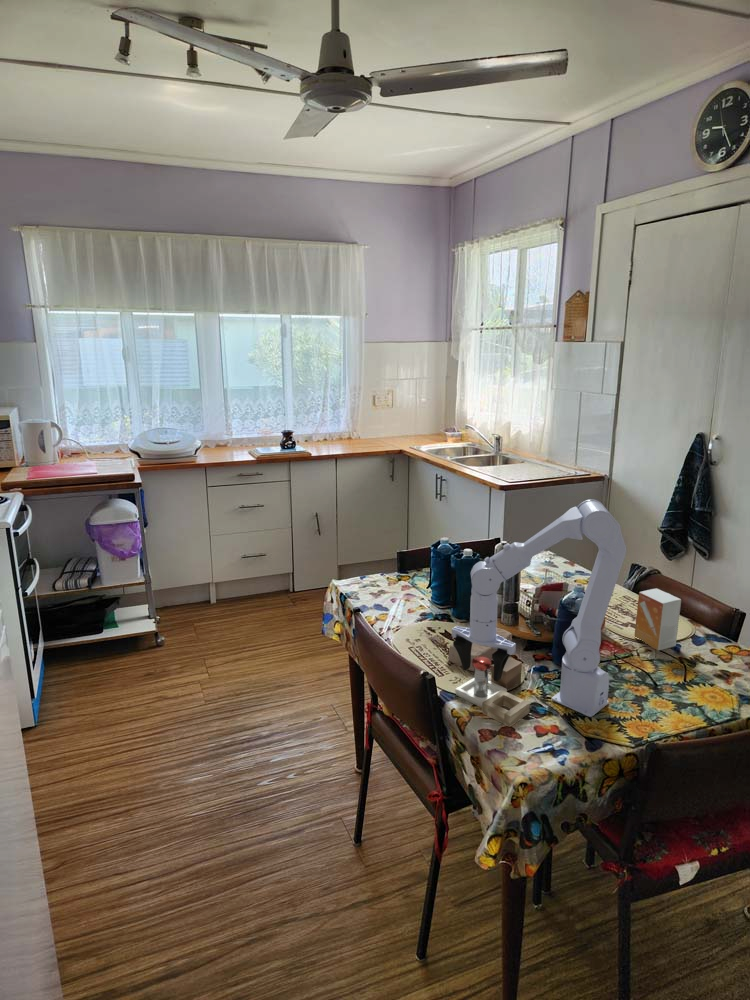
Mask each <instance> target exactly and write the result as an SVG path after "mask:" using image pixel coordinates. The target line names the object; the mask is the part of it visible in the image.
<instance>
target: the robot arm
mask: <svg viewBox="0 0 750 1000" xmlns="http://www.w3.org/2000/svg"><path fill="white" fill-rule="evenodd" d="M609 511H610V510H608V509H607V508H606V506H604V504H603V503H602V502H601V501H599V500H597V499H586V500H584V501H581V502H580V503H579V504H578V505H577V506H574V507H571V508H569V509H568V510H566V512H564V514H562V515H561V516H560V517H558V518H556V519H555V520H554V521H553V522H551V523H550V524H548V525H547V526H546V527H544V528H542V529H541V530H540V531H538V532H537V533H535V534H534V535H533V536H532V537H530V538H529V539H527V540H526V541H525V542H518V541H517V542H516V541H514V542H512V543H511V544H510V543H508V542H507V543H505V544H504V545H503V549H501V550H499V551H498V552H497V553H495V554H493V555H492V556H490V557H489V556H486V557H485V558H484V561H483V560H480V561H478V562H476V563H475V564H474V565H473V566H472V568H471V571H470V580H471V581H470V582H471V591H470V592H471V595H470V602H469V603H470V606H469V607H470V610H469V613H470V615H469V616H470V617H469V627H466V626H459V625H455V626H454V627H452V628H451V637H453V638H455V640H454V641H453V642H452V644H453V646H454V647H455V648H456V650H457V652H458V654H459V657H460V660H461V663H462V666H461V667H462V671H463V672H466V671H468V669H469V668H470V664H471V648H472V643H474V644H477V645H482V646H489V647H492V648H496V649H497V651H496V652H494V653H493V654H492V658H493V660H492V661H493V664H494V681H496V682H497V681H498V680H500V679H501V676H502V672H503V669H504V666H505V664H506V662H507V660H508V658H509V657H510V656H512V655H513V654H515V652H516V648H517V643H515V642H513V641H512V640H511V641H508V640H507V639H505V638H503V637H501V636H499V635H497V628H498V627H497V626H498V605H499V604H498V603H499V599H498V592H499V591H498V590H499V589H500V587H501V584H502V583H503V582H506V581H507V580H508V579H511V578H512V577H514V576H515V575H517V574H519V573H520V572H522V571H523V570H525V569H526V568H528V567H530V566H531V563H532V559H533V557H535V556H536V555H538V554H540V553H541V552H543V551H545V550H547V549H549V548H550V547H552V546H554V545H556V544H558V543H559V542H561V541H563V540H565V539H571V540H573V539H574V540H579V541H580V540H581V541H582V540H583V539H584V538H583V535H585V537H587V539H589V540H590V541H591V542H593V543H594V544H595V545H596V547H597V548H598V552H597V554H596V558H595V560H594V564H593V567H592V570H591V573H590V575H589V579H588V582H587V585H586V588H585V592H584V595H583V598H582V601H581V604H580V606H579V611H578V613H577V616H576V617H574V619H572V621H571V624H570V626H569V627H568V628H567V629H566V630H565V631H564V632H563V634H562V639H561V640H562V644H563V646H564V648H565V650H566V651H565V653H564V655H563V656H562V659H561V672H560V673H561V675H560V688H559V692H557V693H556V694H554V695H553V696H552V697H551V701H554V702H555V703H558V704H560V705H562V706H564V707H566V708H568V709H572V710H573V711H576V712H578V713H580V714H583V715H584V716H587V717H588V718H592V717H593V716H595V714H597V713H598V712H599V711H601V710H602V709H603V708H605V706H607V705H608V704H609V703H610V700H608V696H609V686H610V675H609V672H606V671H604V670H603V669H602V668H601V667H599V663H600V662H601V654H600V647H601V644H602V643H601V642H602V637H601V636H602V629H601V628H602V626H603V623H604V619H605V617H606V614H607V611H608V608H609V605H610V602H611V599H612V595H613V593H614V590H615V587H616V584H617V581H618V578H619V576H620V572H621V569H622V567H623V566H622V565H623V563H624V560H625V559H626V555H627V546H626V543H625V539H624V536H623V533H622V530H621V524H620V523H619V522H618V521H617V520H616V518H615V517H614V516H613V515H612V514H611V512H609Z"/></svg>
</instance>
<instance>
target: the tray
mask: <svg viewBox="0 0 750 1000" xmlns="http://www.w3.org/2000/svg"><path fill="white" fill-rule="evenodd" d="M501 690H503V691H505V692H508V690H507V689H506V688H504V687H502V686H499V685H497V684H495V683H493V682H491V680H490V679H488V695H487V696H486V697H483V698H480V697H477V696H475V695H474V677H473V678H471V679H469V680H468V681H466V682H464V683H463V684H461V685H459V686H458V687H455V692H454V693H455V694H456V695H455V696H457V697H459V698H461V699H463V700H465V701H467V702H469V703H472V704H473V705H475V706H477V707H479V708H481V709H482V702H484V701H486V700H487V699H489V698H490V697H492V696H493V695H495V694H497V693H498V692H500V691H501Z"/></svg>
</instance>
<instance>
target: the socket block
mask: <svg viewBox="0 0 750 1000" xmlns="http://www.w3.org/2000/svg"><path fill="white" fill-rule="evenodd" d="M530 703H531V702H529V701H527V700H525V699H523V698H520V697H518V696H515V694H512V693H510V692H508V691H507V692H505V691H503V690H501V691H500V692H498V693H497V694H495V695H493V696H492V697H490V698H489V699H487V700H486V701H484V702H482V708H481V714H482V715H485V716H487V717H489V718H491V719H493V720H495V721H497V722H499V723H501V724H503V725H505V726H507V727H508V728H511V727H512V726H513V725H515V724H516V723H517V722H519V721H520V720H521V719H524V718H525V717H526V716H527V715H529V714H530V707H531V706H530ZM502 706H504V707H506V708H508V709H506V708H504V707H502Z"/></svg>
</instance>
